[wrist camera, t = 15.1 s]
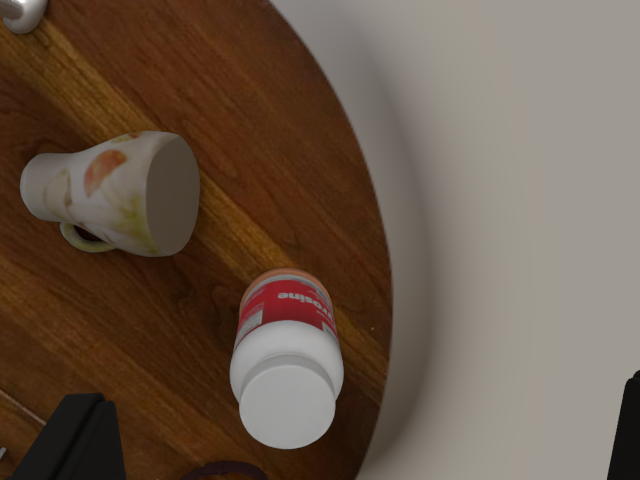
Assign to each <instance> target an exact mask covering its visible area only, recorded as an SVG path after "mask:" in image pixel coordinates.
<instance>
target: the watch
mask: <svg viewBox="0 0 640 480" xmlns="http://www.w3.org/2000/svg"><path fill="white" fill-rule="evenodd" d="M227 472H233V473H240V474H245V475H249V476H252V477H254V478H256V479H257V480H268V478H267V477H266V475H265V474H264V472H263V471H261V470H260V469H259V468H258V467H256V466H254V465H251V464H248V463H242V462H231V461H226V462H225V461H222V462H214V463H209V464H207V465H205V467H202V468H198V469H195V470H193V471H190V472H189V473H187V474H185V475H184V476H183V477H181V478H180V479H179V480H194V479H198V478H202V477H207V476H213V475H227Z"/></svg>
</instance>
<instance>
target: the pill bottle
mask: <svg viewBox="0 0 640 480" xmlns="http://www.w3.org/2000/svg"><path fill="white" fill-rule="evenodd" d="M343 373H344V372H343V362H342V356H341V351H340V347H339V341H338V336H337V331H336V326H335V321H334V316H333V311H332V307H331V304H330V302H329V299H328V298H327V296H326V294H325V293H324V292H323V290H322V289H321V288H320V287H319V286H317V285H316V284H315V283H313V282H312V281H310V280H308V279H306V278H304V277H300V276H296V275H289V274H287V275H278V276H274V277H271V278H268V279H266V280H264V281H262V282H261V283H259V284H258V285H257V286H256V287H254V288H253V289H252V291H251V292H250V293H249V294H248V296H247V298H246V299H245V302H244V304H243V307H242V311H241V315H240V320H239V325H238V330H237V336H236V340H235V346H234V351H233V356H232V360H231V365H230V382H231V387H232V390H233V393H234V395H235V397H236V399H237V401H238V402H239V404H240V405H239V408H240V416H241V420H242V422H243V425H244V426H245V428H246V430H247V431H248V432H249V433H250V435H251V436H252V437H254V438H255V439H256V440H258V441H259V442H261V443H263V444H265V445H267V446H270V447H274V448H280V449H294V448H299V447H303V446H306V445H308V444H310V443H312V442H314V441H316V440H317V439H318V438H320V437H321V436H322V435H323V434H324V433H325V432H326V431H327V429H328V428H329V426H330V425H331V423H332V420H333V418H334V414H335V400H336V399H337V397H338V395H339V393H340V390H341V387H342V383H343Z"/></svg>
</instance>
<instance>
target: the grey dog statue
mask: <svg viewBox="0 0 640 480" xmlns="http://www.w3.org/2000/svg"><path fill="white" fill-rule="evenodd" d="M6 450H7V449H6V448H4V447H2V448H1V450H0V459H1V457H2V455H3V454H4V452H5V451H6Z"/></svg>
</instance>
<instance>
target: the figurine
mask: <svg viewBox="0 0 640 480" xmlns="http://www.w3.org/2000/svg"><path fill="white" fill-rule="evenodd" d="M47 3H48V0H0V17H3V21H4V24H5V25H6V27H7V28H8V29H9V30H10V31H12V32H14V33H16V34H22V33H28V32H31V31H32V30H33V29H34V28H36V27H37V26H38V24H39V22H40V20H41V18H42V16H43V15H44V13H45V10H46V6H47Z"/></svg>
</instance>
